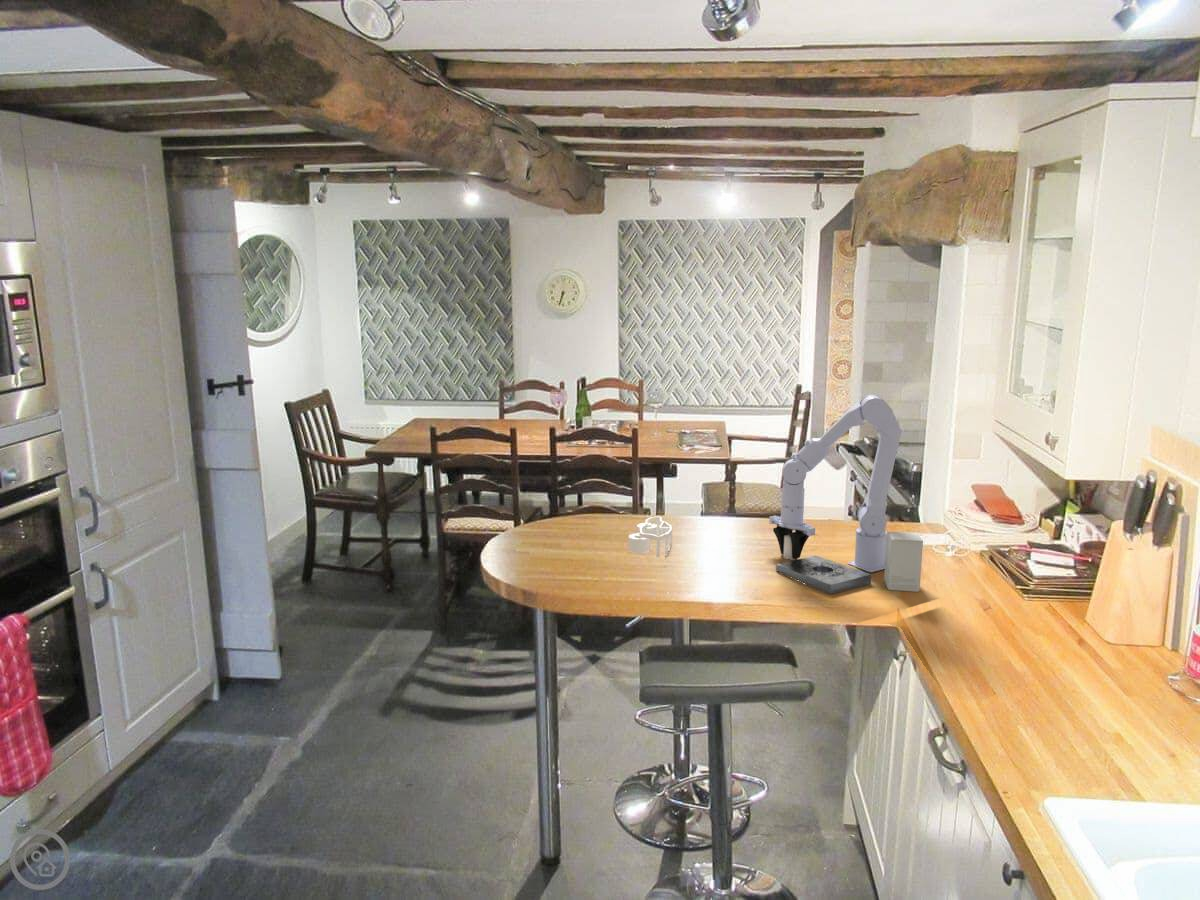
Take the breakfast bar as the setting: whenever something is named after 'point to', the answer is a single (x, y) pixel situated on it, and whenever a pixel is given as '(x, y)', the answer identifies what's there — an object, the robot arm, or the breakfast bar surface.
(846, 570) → the socket plate
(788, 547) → the peg
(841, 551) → the breakfast bar surface
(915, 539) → the supplement box
